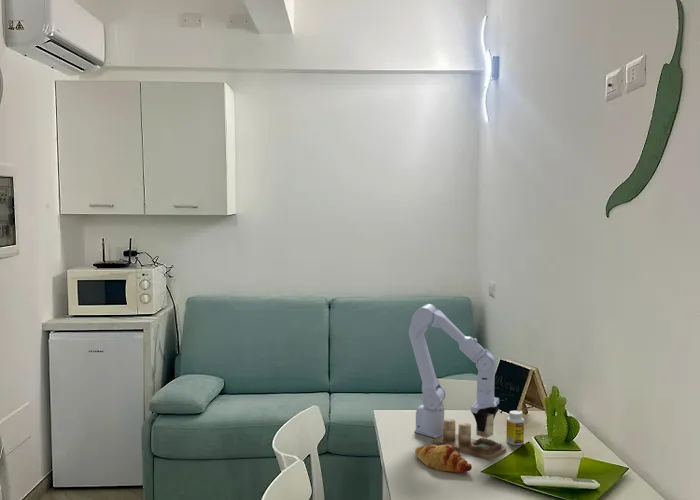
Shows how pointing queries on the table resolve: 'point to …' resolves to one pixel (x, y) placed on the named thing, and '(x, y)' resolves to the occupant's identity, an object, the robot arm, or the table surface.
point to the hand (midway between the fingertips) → (484, 429)
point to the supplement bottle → (515, 428)
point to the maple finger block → (487, 427)
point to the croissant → (443, 458)
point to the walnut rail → (465, 447)
